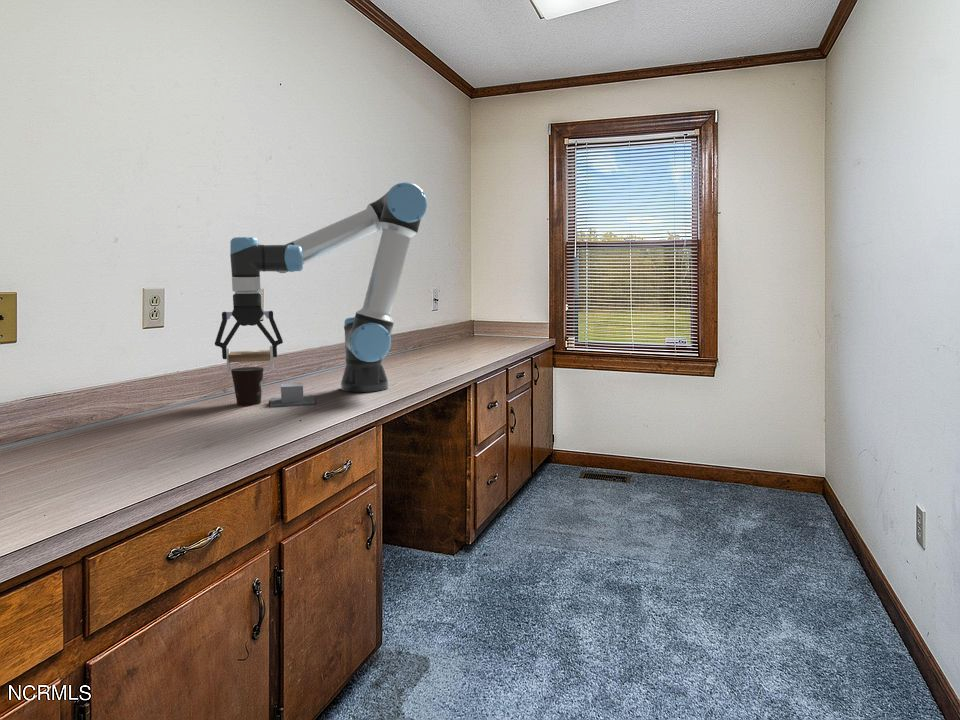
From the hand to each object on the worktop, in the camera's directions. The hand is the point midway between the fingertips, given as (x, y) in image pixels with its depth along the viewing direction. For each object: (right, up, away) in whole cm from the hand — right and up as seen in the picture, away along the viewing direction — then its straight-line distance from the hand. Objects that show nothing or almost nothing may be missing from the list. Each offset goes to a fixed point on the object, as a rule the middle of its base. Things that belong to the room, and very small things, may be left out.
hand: (250, 369), depth 185 cm
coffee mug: (0, -10, +1) cm, 10 cm away
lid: (0, +3, 0) cm, 3 cm away
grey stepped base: (+12, -9, +1) cm, 15 cm away
